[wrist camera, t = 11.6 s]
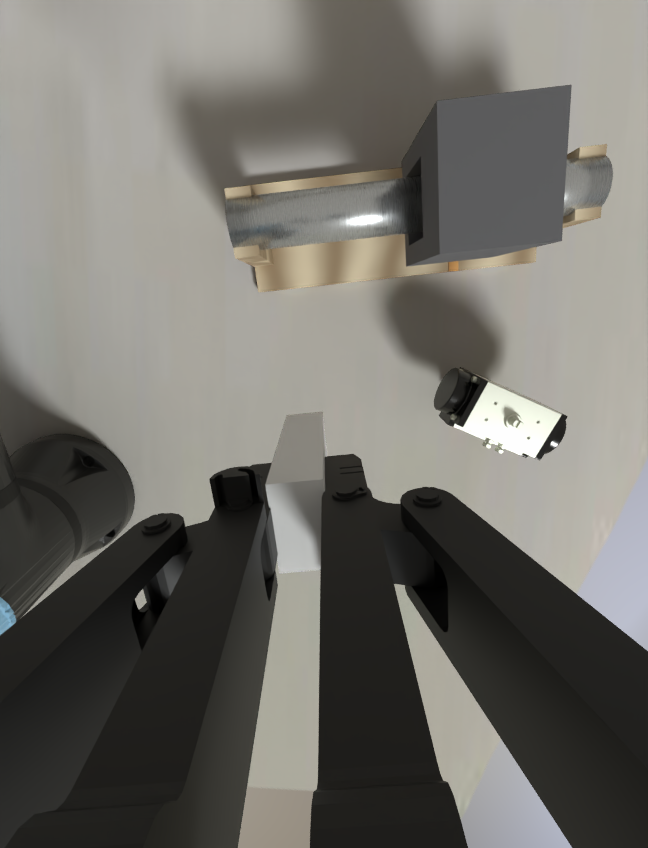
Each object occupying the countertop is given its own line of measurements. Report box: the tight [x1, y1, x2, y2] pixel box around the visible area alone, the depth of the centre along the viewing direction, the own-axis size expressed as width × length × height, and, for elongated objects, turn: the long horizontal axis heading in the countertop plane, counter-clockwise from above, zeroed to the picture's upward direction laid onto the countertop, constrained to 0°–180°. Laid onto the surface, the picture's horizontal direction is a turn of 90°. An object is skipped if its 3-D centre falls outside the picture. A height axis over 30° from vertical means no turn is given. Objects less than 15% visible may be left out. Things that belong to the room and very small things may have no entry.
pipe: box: [225, 156, 613, 250], centre depth 33 cm, size 29×4×4 cm, turn 96°
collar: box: [402, 85, 571, 267], centre depth 31 cm, size 8×9×12 cm
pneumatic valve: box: [434, 367, 567, 460], centre depth 42 cm, size 6×12×12 cm, turn 67°
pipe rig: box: [224, 144, 607, 292], centre depth 37 cm, size 29×10×11 cm, turn 96°
